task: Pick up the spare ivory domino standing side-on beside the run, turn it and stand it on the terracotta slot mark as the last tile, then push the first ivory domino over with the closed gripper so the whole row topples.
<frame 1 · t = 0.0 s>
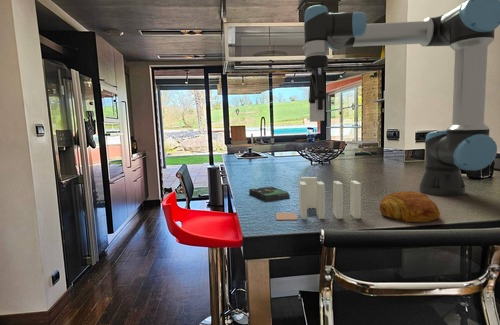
hand: (316, 121, 105), 28 cm above the kitchen island, fingers open, 13 cm apart
domino 1: (355, 216, 90), on the kitchen island
domino 4: (303, 216, 91), on the kitchen island
croissant: (409, 217, 89), on the kitchen island
domino 2: (337, 216, 91), on the kitchen island
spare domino: (309, 207, 101), on the kitchen island
slot mark: (286, 216, 91), on the kitchen island
disk drive: (268, 197, 121), on the kitchen island
domino 3: (320, 216, 91), on the kitchen island
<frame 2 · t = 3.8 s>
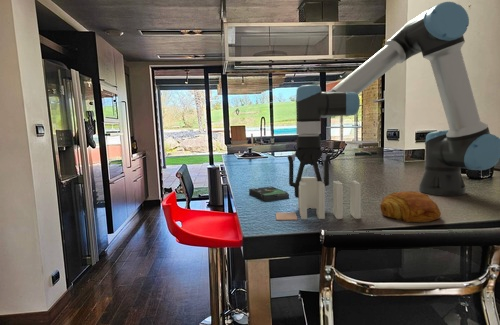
hand: (308, 207, 101), 0 cm above the kitchen island, fingers closed on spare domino, 5 cm apart
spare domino: (308, 207, 101), on the kitchen island, touching gripper
everything else where it was.
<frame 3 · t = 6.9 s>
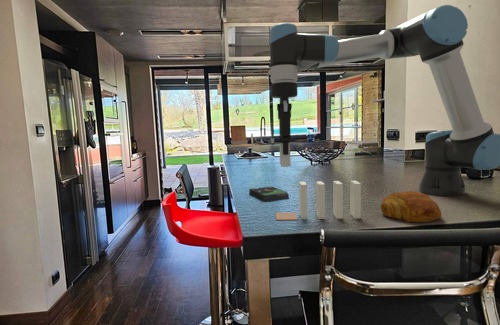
hand: (285, 164, 90), 15 cm above the kitchen island, fingers closed on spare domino, 5 cm apart
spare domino: (284, 165, 90), point 15 cm above the kitchen island, touching gripper
everything else where it was.
when the fingers open (1 cm above the kitchen island, at t = 9.6 s): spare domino stays where it is, resting on slot mark.
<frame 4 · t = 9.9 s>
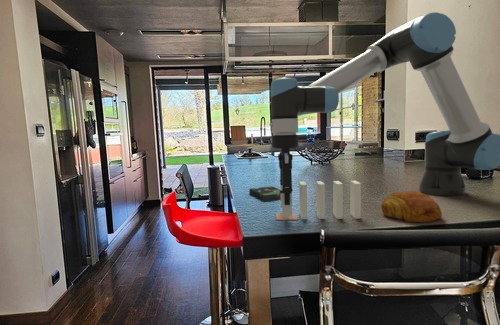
hand: (286, 211, 91), 2 cm above the kitchen island, fingers open, 9 cm apart
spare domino: (285, 215, 91), resting on slot mark
everything else where it was.
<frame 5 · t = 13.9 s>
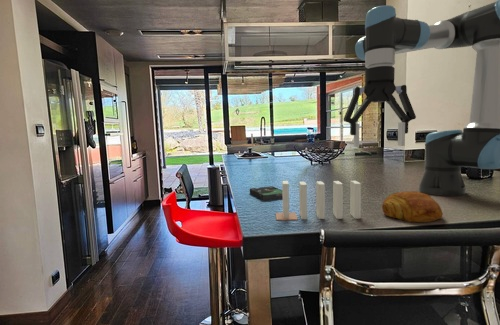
hand: (378, 146, 88), 20 cm above the kitchen island, fingers open, 12 cm apart
nothing on the kitchen island moved.
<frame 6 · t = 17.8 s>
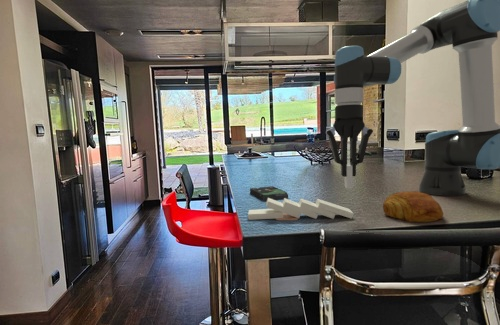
hand: (348, 187, 89), 8 cm above the kitchen island, fingers closed
domino 1: (350, 213, 90), point 1 cm above the kitchen island, tilted 70°, touching domino 2
domino 4: (299, 213, 91), point 1 cm above the kitchen island, tilted 69°, touching domino 3, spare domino
domino 2: (332, 213, 91), point 1 cm above the kitchen island, tilted 69°, touching domino 1, domino 3
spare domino: (282, 213, 91), point 1 cm above the kitchen island, tilted 92°, touching domino 4, slot mark
domino 3: (315, 214, 91), point 1 cm above the kitchen island, tilted 69°, touching domino 2, domino 4
everything else where it was.
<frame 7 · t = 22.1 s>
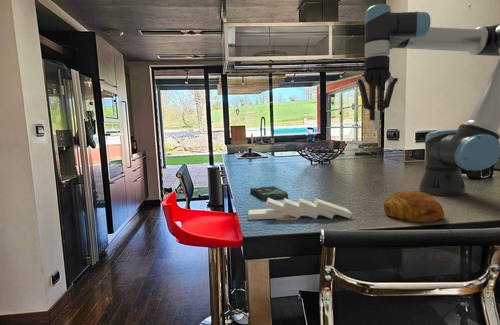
hand: (375, 130, 103), 24 cm above the kitchen island, fingers closed
at the end: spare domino tilted 92°; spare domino inside the target area on the slot mark (0.2 cm from its centre), point 1.2 cm above the slot mark's base; domino 1 tilted 70° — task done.
